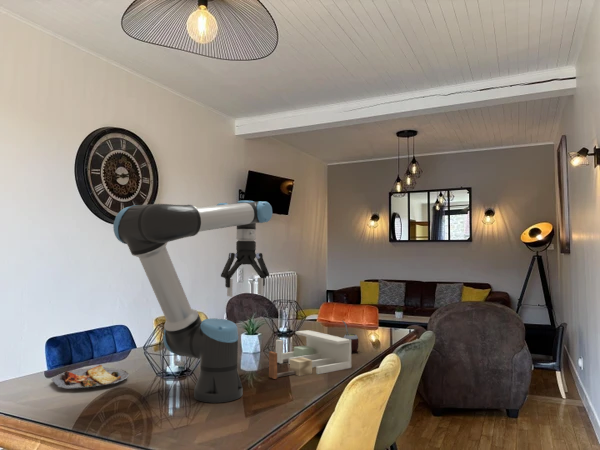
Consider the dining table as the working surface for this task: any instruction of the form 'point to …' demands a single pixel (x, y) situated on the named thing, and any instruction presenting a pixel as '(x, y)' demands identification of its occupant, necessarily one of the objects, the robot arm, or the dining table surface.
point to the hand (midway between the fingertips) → (245, 295)
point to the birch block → (296, 366)
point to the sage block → (297, 351)
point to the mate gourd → (352, 340)
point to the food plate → (90, 377)
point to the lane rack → (325, 351)
